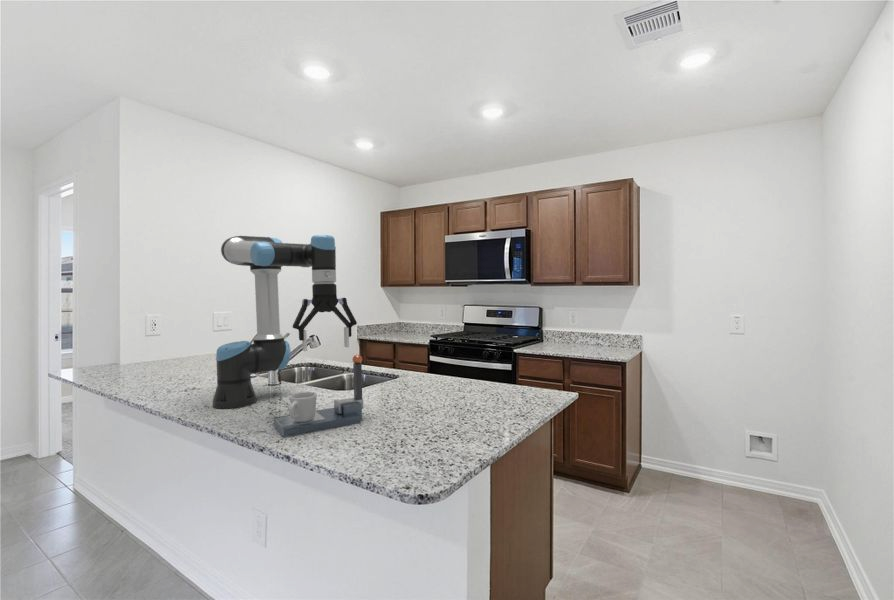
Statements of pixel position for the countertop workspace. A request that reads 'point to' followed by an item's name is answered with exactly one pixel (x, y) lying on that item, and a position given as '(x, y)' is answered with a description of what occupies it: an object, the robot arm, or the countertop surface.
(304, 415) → the cup
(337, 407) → the lever
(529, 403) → the countertop surface
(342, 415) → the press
